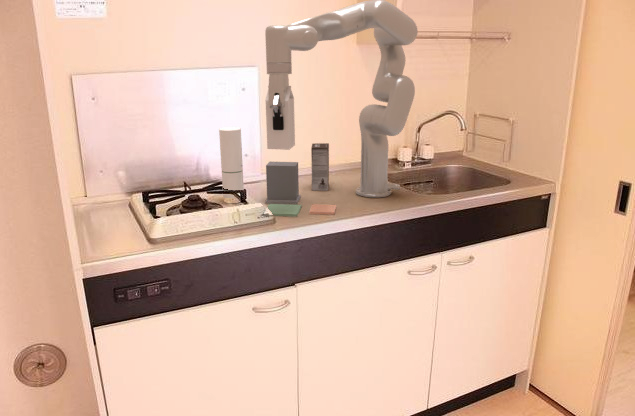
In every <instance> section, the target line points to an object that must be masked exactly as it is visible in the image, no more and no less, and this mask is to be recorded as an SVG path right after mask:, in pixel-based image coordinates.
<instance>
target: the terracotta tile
mask: <svg viewBox="0 0 635 416" xmlns="http://www.w3.org/2000/svg"><path fill="white" fill-rule="evenodd" d="M336 211H337V204H322V203H321V204H320V203H319V204H317V203H315V204H314V203H313V204H312V205H311V206H310V209H309V211H308V212H309V213H308V214H309V215H326V216H327V215H328V216H329V215H331V216H335V214H336Z"/></svg>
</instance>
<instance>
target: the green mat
mask: <svg viewBox="0 0 635 416" xmlns="http://www.w3.org/2000/svg"><path fill="white" fill-rule="evenodd" d="M267 207H268V209H269V210H270V211H271V212H272V214H273V215H275V216H274V217H292V218H293V217H296V218H297V217H298V216H299V214H300V212H301V209H302V207H303V206H302V204H271V203H268V205H267ZM267 207H266V208H267Z"/></svg>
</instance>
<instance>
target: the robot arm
mask: <svg viewBox="0 0 635 416" xmlns="http://www.w3.org/2000/svg"><path fill="white" fill-rule="evenodd" d="M369 29H373V37H374V38H375V41H376V43H377V46H378V47H379V50H380V60H379V65H378V68H377V72H376V75H375V78H374V82H373V84H372V89H371V93H372V97H373V98H374V99H375V100H377V101H378V102H383V103H387V105H382V104H373V103H372V104H368V105H366V106H364V107H363V108H362V109H361V111H360V113H359V116H358V117H359V118H358V124H359V131H360V140H361V151H360V186H359V187H357V188H355V194H357V195H358V196H361V197H364V198H365V197H366V198H371V199H372V198H374V199H375V198H377V199H378V198H385V197H388V196H390V195H391V194H392V190H396V191H397V190H398V191H400V189H401V188H400V187H401V186H400V184H397V183H395V182H394V183H393V182H392V183H391V182H389V179H388V168H389V167H388V165H389V140H388V136H389V137H395V136H398V135H399V134H401V132H402V131H403V130H404V128H405V126H406V123H407V120H408V118H409V116H410V115H409V114H410V111H411V108H412V106H413V102H414V99H415V94H416V88H415V84H414V81H413V80H412V79H411V77H410V76H408V75H404V74H403V73H404V69H405V66H406V53H405V50H404V49H403V46H409V45H411V44H412V43H414V42H415V40H416V39H417V37H418V36H417V35H418V26H417V23H416V22H415V21H414V20H413V18H411V17H410V16H409V15H408V14H406V13H405V12H403V11H402V10H401V9H400V8H398V7H397V6H396V5H394V4H392V3H391V2H389V1H388V0H364V1H360V2H357V3H354V4H351V5H349V6H346V7H342V8H339V9H335V10H333V11H329V12H326V13H322V14H320V15H316V16H313V17H310V18H306V19H302V20H299V21H296V22H293V23H289V24H287V25H282V24H281V25H277V24H276V25H268V26H266V27H265V30H264V31H265V33H264V34H265V57H266V58H265V59H266V60H265V63H266V75H269V76H268V86H269V107H270V106H273V130H283V129H284V119H283V117H282V114H283V110H282V108H284V106H285V98H286V95H287V90H288V86H290V82H289V81H290V80H289V75H292V73H293V72H292V70H293V69H292V63H293V62H292V51H294V52H295V51H299V52H306V51H307V52H308V51H310V50H312V49H314V48H315V47H316V46H317V44H318V43H319V42H322V41H323V42H325V41H335V40H339V39H344V38H347V37H349V36H351V35H354V34H356V33H357V34H358V33H360V32H363V31H366V30H369ZM279 100H280V102H281V103H282V104H281V106H278V103H279ZM270 108H271V107H270Z"/></svg>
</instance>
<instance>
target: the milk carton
mask: <svg viewBox="0 0 635 416" xmlns="http://www.w3.org/2000/svg"><path fill="white" fill-rule="evenodd" d="M267 87H268V89H267V92H266V93H267V94H266V96H265V116H266V117H265V119H266V121H265V123H266V125H265V126H266V142H267V143H266V145H267V146H266V149H268V150H283V151H284V150H285V151H286V150H288V151H290V150H291V149H292V148H293V147H294V146H296V139H295V138H296V134H295V133H296V132H295V131H296V128H295V97H294V95H293V94H294V93H293V91H292V85H289V86H288V90H287V95H286V98H285V106H284V108H282V110H283V114H282V117H283V119H284V129H283V130H273V106H270V107H271V108H270V107H269V85H268V86H267ZM281 104H282V103H281V102H280V100H279V103H278V106H281Z"/></svg>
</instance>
